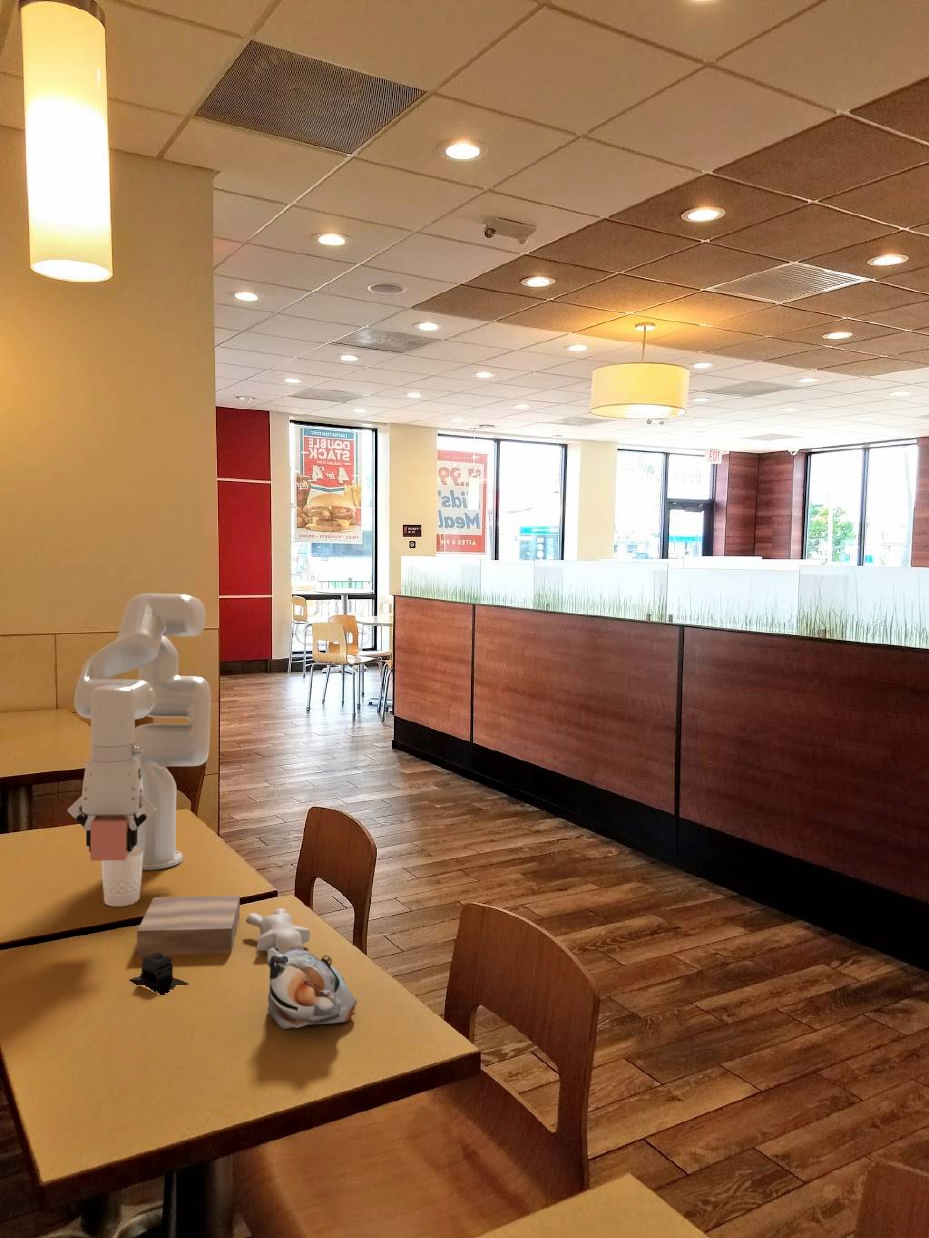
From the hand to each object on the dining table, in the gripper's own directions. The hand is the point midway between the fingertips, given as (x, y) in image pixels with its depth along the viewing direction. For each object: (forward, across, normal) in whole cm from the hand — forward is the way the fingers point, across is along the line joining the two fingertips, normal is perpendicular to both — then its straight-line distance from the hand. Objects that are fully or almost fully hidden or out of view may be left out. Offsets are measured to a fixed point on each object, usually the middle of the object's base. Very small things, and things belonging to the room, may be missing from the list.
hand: (112, 848), depth 170 cm
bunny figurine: (+16, -31, +8) cm, 36 cm away
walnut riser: (+16, -15, +3) cm, 22 cm away
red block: (+1, 0, 0) cm, 1 cm away
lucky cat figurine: (+16, -38, +36) cm, 54 cm away
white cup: (+16, +2, -16) cm, 22 cm away
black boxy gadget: (+16, -12, +21) cm, 29 cm away
